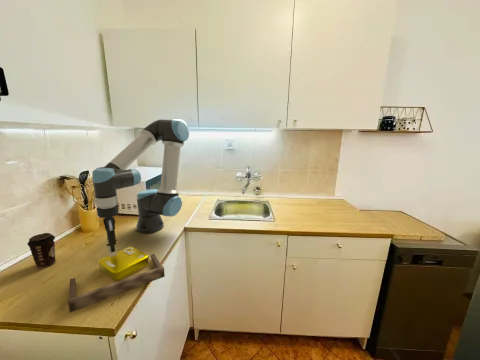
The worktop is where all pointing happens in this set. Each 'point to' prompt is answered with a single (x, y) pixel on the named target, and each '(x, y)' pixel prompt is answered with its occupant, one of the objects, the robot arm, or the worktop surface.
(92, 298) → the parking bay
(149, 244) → the worktop surface
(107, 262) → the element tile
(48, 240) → the coffee cup
